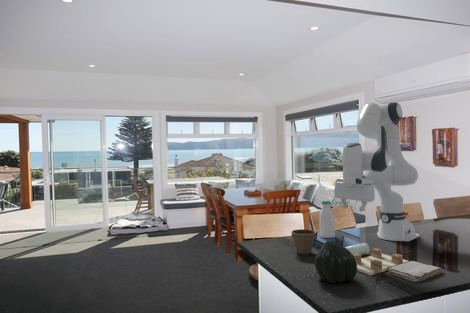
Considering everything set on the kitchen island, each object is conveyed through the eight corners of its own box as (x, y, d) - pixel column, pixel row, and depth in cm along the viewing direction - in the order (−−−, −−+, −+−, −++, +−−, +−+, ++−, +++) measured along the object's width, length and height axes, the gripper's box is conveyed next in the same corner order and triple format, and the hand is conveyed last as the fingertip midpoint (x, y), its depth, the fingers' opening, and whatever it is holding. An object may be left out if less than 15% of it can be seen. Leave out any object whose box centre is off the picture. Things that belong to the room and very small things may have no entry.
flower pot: (295, 248, 170) (295, 227, 170) (318, 250, 165) (318, 229, 165) (288, 254, 160) (288, 233, 160) (313, 257, 155) (312, 235, 155)
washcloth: (386, 274, 133) (386, 266, 133) (412, 265, 143) (412, 258, 143) (416, 284, 123) (416, 275, 123) (442, 273, 133) (442, 265, 133)
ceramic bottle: (360, 252, 161) (360, 241, 161) (369, 255, 157) (369, 244, 157) (333, 259, 152) (332, 248, 152) (341, 262, 148) (341, 251, 148)
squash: (366, 273, 119) (352, 234, 129) (324, 277, 118) (313, 237, 128) (354, 288, 130) (342, 251, 140) (316, 292, 129) (306, 254, 139)
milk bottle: (334, 238, 186) (334, 201, 186) (320, 238, 188) (319, 201, 187) (333, 235, 194) (332, 199, 193) (319, 234, 195) (318, 199, 195)
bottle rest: (381, 255, 155) (381, 246, 155) (408, 263, 144) (408, 253, 144) (344, 266, 143) (343, 256, 143) (370, 275, 132) (370, 264, 132)
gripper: (330, 178, 162) (331, 207, 163) (366, 180, 145) (367, 213, 145) (340, 177, 166) (340, 206, 166) (376, 179, 148) (377, 212, 148)
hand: (353, 209), depth 155 cm, fingers open, 8 cm apart
